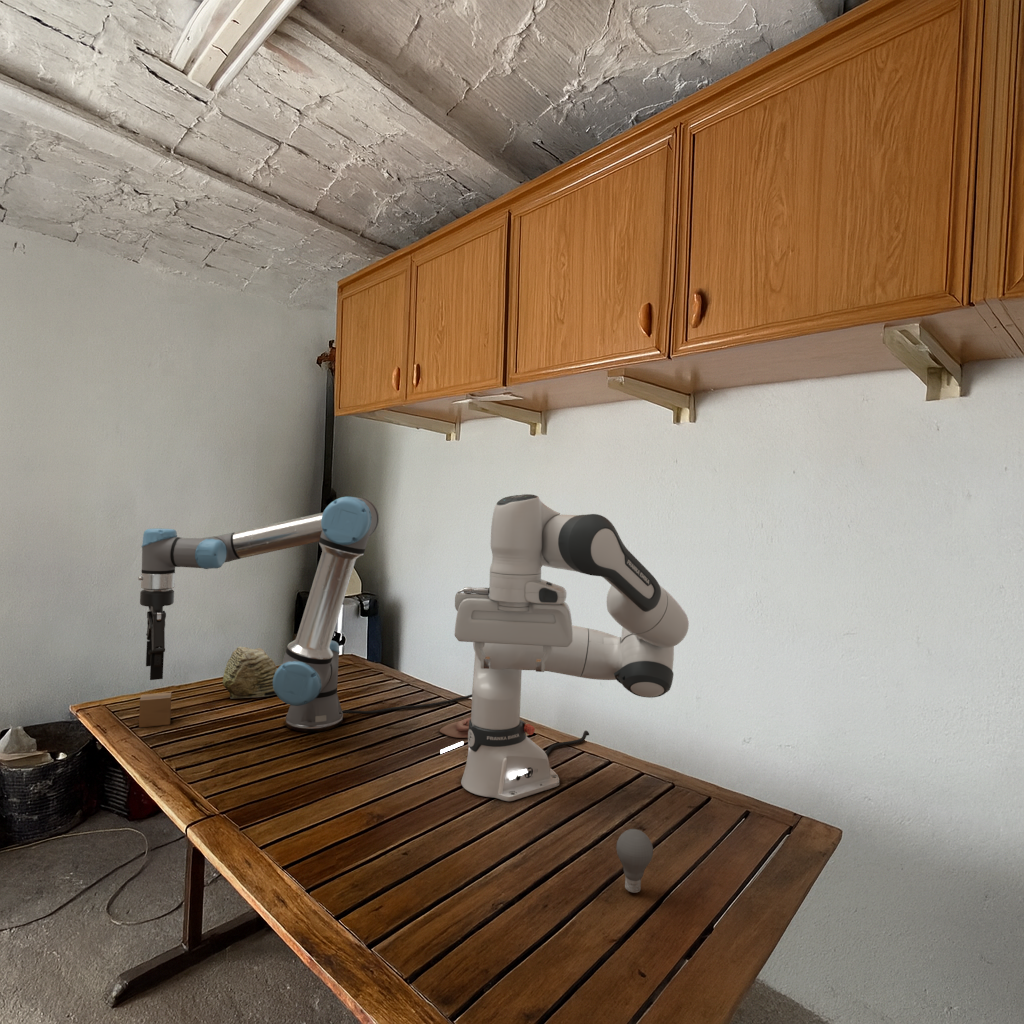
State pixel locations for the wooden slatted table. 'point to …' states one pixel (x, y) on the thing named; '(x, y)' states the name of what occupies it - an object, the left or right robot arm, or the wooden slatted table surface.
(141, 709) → the tan brown block
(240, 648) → the fossil
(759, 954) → the wooden slatted table surface
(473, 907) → the wooden slatted table surface
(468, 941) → the wooden slatted table surface
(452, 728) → the anatomical model
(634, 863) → the light bulb
